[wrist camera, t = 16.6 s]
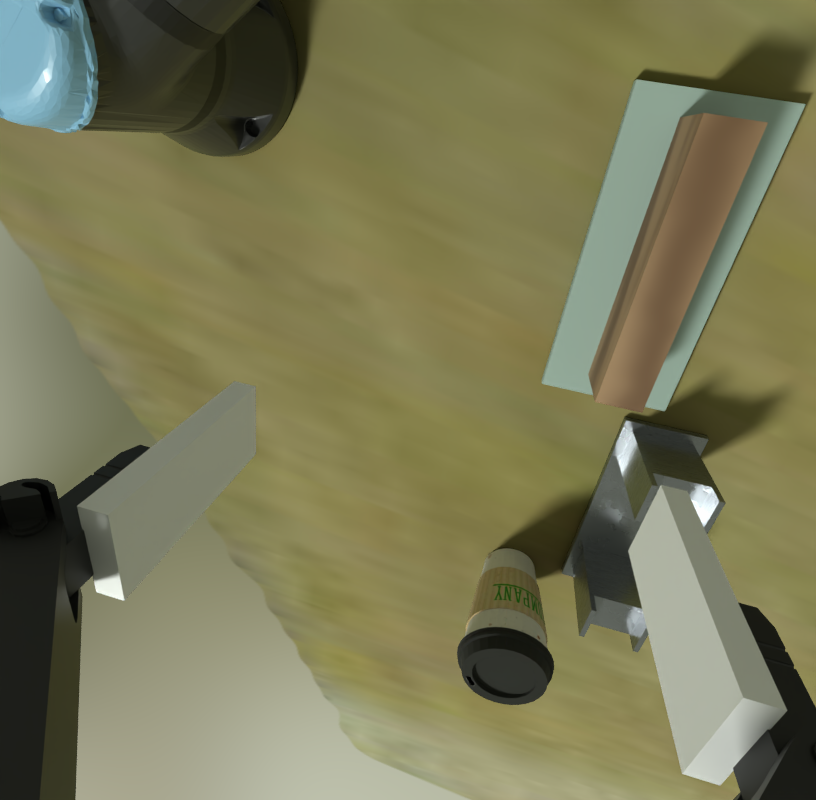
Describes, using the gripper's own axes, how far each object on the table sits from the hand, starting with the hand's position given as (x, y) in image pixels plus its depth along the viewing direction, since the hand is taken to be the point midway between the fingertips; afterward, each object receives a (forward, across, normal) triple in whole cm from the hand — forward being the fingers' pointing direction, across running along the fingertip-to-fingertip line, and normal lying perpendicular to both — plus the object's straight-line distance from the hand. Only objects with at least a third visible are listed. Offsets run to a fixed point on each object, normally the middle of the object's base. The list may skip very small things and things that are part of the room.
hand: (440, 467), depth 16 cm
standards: (+35, +20, -24) cm, 47 cm away
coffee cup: (+35, +10, -37) cm, 52 cm away
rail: (+34, +13, +2) cm, 36 cm away
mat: (+35, +13, +2) cm, 37 cm away
